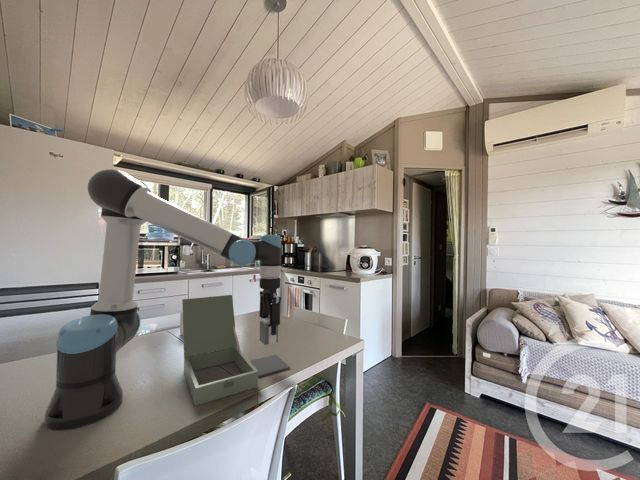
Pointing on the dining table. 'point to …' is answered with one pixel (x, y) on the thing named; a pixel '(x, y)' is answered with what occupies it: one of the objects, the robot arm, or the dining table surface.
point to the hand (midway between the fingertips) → (268, 340)
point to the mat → (269, 365)
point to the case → (213, 347)
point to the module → (266, 331)
